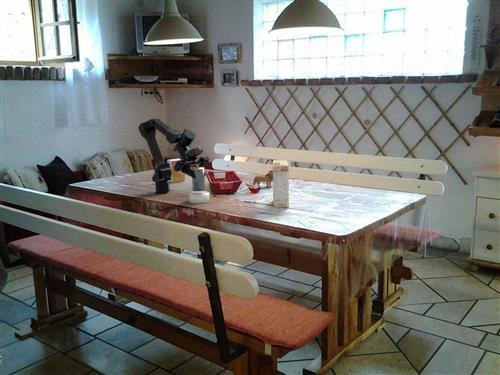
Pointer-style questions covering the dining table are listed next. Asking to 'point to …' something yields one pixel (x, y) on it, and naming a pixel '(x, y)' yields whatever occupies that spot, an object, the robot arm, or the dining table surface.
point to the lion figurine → (264, 179)
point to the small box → (177, 175)
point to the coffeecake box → (280, 183)
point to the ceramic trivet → (199, 197)
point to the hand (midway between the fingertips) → (200, 177)
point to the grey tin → (198, 179)
